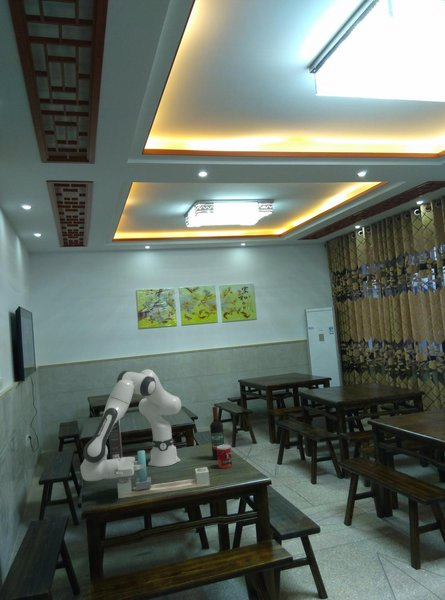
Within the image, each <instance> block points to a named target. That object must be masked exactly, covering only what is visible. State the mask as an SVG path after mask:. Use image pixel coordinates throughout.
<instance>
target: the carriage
mask: <svg viewBox="0 0 445 600" xmlns="http://www.w3.org/2000/svg"><path fill="white" fill-rule="evenodd" d="M146 459H147V458H146V450H144V449H143V450H137V461H138V465H140V464H144V468H142V469H139V470H138V475H139V476H138V477H139V478H136V479H135V487H136V490H140V489H147V488H151V485H152V479H151V478H152V477H151V476H147V474H148V473H147V462H146Z"/></svg>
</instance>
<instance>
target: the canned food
mask: <svg viewBox="0 0 445 600" xmlns="http://www.w3.org/2000/svg"><path fill="white" fill-rule="evenodd" d="M217 455H218V460H217V466H218V468H219V469H223V470H224V469H225V470H226V469H230V468H232V467H233V458H232V456H233V455H232V447H231V444H224V445H219V446H217Z"/></svg>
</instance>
